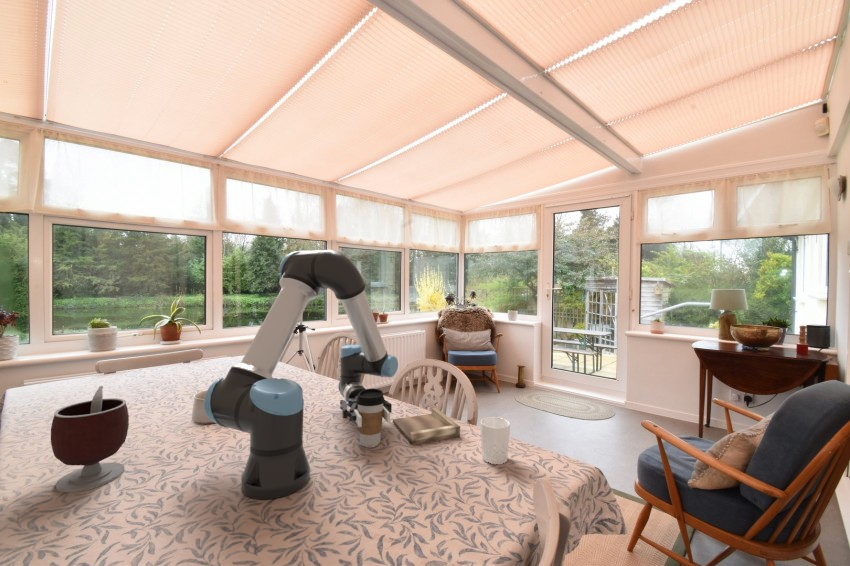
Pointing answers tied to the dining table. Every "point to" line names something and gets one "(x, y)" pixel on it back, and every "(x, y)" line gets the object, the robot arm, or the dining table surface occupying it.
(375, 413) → the coffee cup
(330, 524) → the dining table surface
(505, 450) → the white cup
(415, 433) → the wooden tray
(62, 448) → the mate gourd
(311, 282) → the robot arm
